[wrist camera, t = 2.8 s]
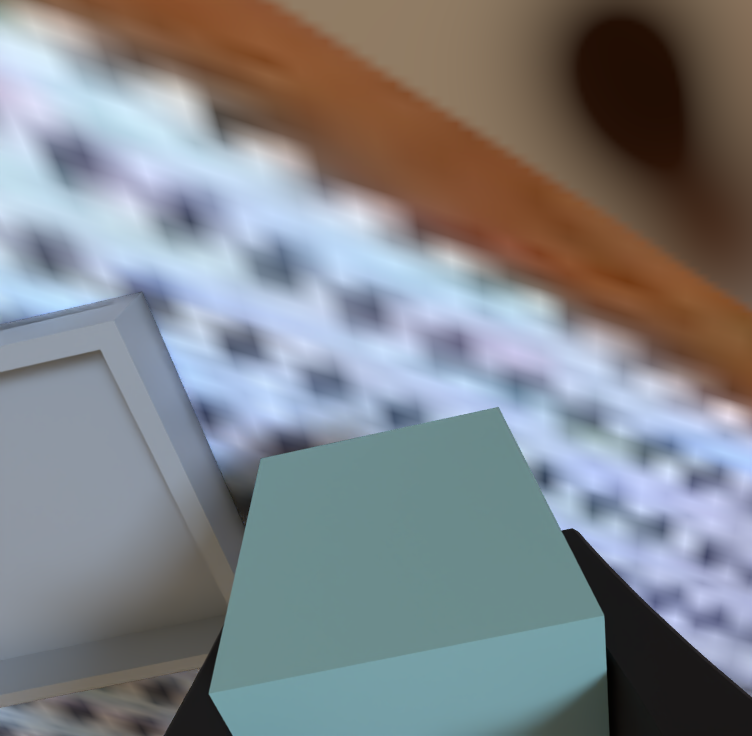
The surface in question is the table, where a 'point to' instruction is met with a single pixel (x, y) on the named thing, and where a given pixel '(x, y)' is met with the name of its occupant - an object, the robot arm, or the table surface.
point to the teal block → (409, 595)
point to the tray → (105, 507)
